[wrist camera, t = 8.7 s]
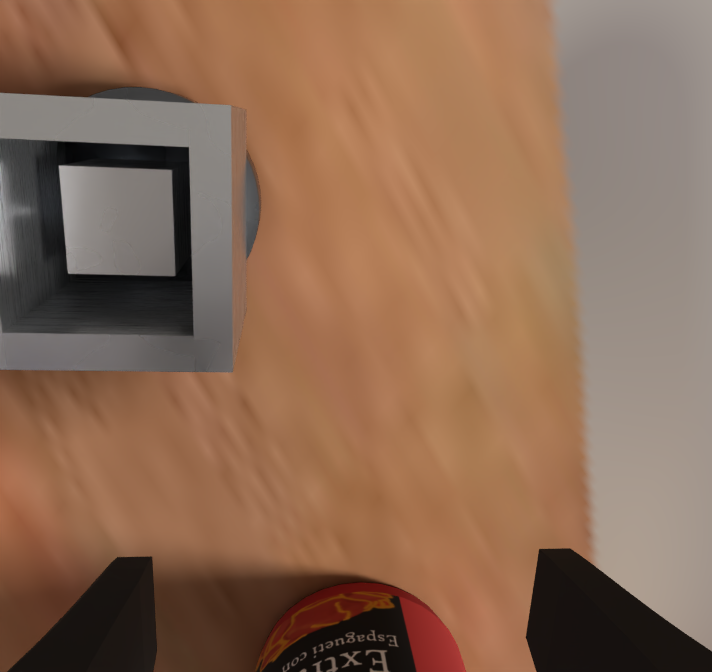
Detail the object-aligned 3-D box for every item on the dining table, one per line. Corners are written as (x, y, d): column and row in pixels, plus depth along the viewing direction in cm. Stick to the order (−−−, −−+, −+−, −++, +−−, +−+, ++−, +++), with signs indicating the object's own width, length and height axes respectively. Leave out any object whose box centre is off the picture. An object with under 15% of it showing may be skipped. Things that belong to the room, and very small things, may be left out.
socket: (48, 305, 18) (-35, 369, 14) (28, 98, 17) (-73, 89, 12) (246, 309, 19) (232, 372, 14) (246, 109, 17) (231, 105, 13)
